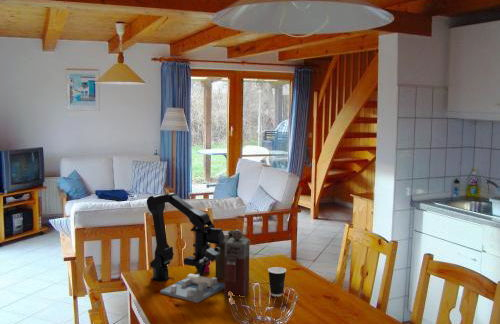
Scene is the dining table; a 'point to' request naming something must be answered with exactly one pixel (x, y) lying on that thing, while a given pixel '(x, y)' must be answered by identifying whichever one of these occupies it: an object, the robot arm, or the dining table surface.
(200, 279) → the white cylinder
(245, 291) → the dark jug
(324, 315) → the dining table surface
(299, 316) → the dining table surface
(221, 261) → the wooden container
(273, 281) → the dixie cup
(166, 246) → the robot arm
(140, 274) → the dining table surface
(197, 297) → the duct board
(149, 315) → the dining table surface
